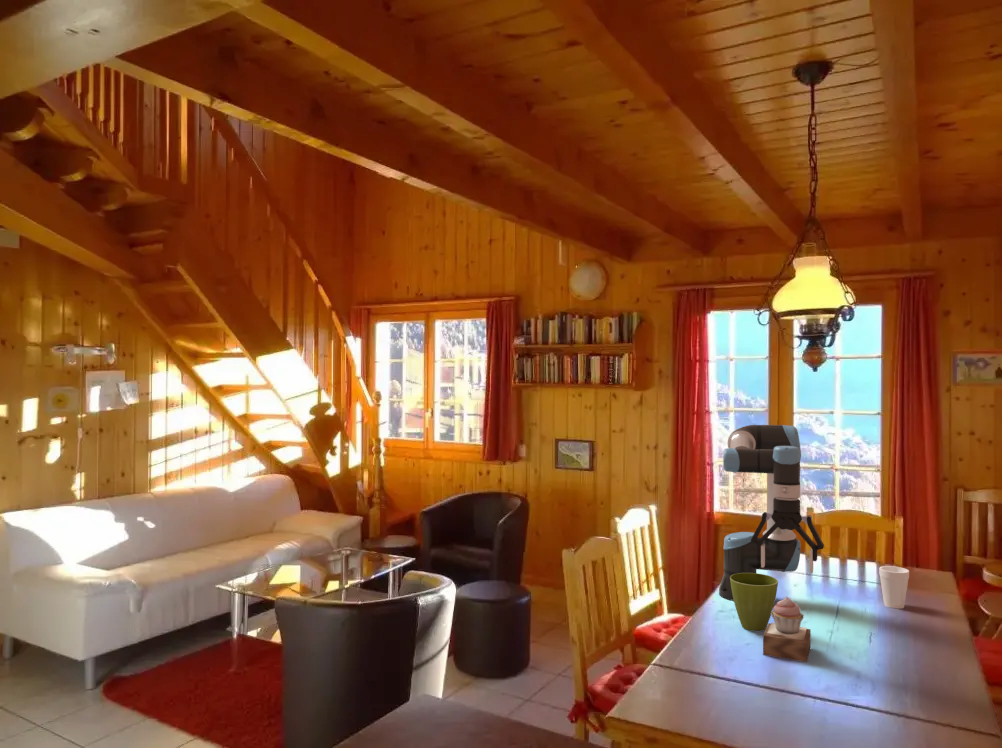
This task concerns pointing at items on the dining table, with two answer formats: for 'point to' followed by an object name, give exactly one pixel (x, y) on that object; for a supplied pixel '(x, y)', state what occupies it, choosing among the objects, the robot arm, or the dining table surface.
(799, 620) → the cupcake
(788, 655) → the walnut base
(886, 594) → the foam cup
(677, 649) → the dining table surface
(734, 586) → the flower pot
